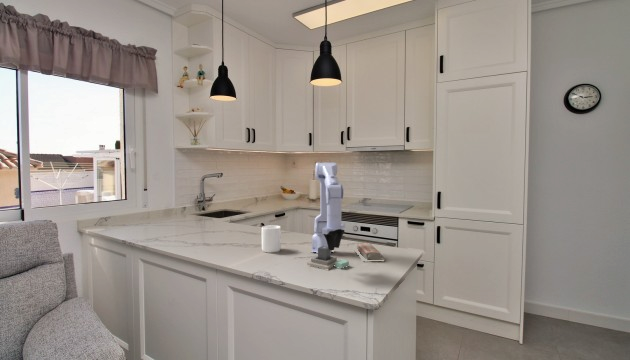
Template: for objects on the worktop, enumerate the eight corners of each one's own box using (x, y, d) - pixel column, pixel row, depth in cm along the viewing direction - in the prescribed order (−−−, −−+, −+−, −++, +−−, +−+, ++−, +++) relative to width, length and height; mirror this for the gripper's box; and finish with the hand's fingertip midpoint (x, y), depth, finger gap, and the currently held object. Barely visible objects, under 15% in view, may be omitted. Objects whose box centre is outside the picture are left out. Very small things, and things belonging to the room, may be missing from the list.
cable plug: (334, 267, 128) (334, 262, 127) (343, 264, 132) (343, 259, 132) (341, 269, 125) (341, 263, 125) (350, 266, 129) (350, 260, 129)
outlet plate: (307, 265, 130) (307, 259, 129) (322, 258, 140) (322, 252, 139) (327, 270, 124) (327, 263, 124) (341, 262, 134) (341, 256, 134)
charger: (317, 261, 131) (317, 247, 131) (322, 259, 134) (322, 245, 134) (325, 263, 129) (325, 249, 128) (330, 260, 132) (330, 247, 132)
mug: (270, 254, 145) (270, 230, 144) (254, 249, 153) (254, 226, 152) (284, 250, 152) (284, 227, 152) (268, 245, 160) (268, 223, 159)
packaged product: (385, 251, 135) (363, 252, 134) (385, 262, 136) (363, 263, 135) (372, 241, 153) (353, 241, 152) (372, 250, 154) (353, 251, 152)
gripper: (333, 218, 113) (333, 254, 113) (351, 213, 125) (351, 246, 126) (317, 216, 117) (317, 251, 117) (336, 211, 129) (336, 243, 129)
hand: (333, 248), depth 122 cm, fingers open, 3 cm apart
